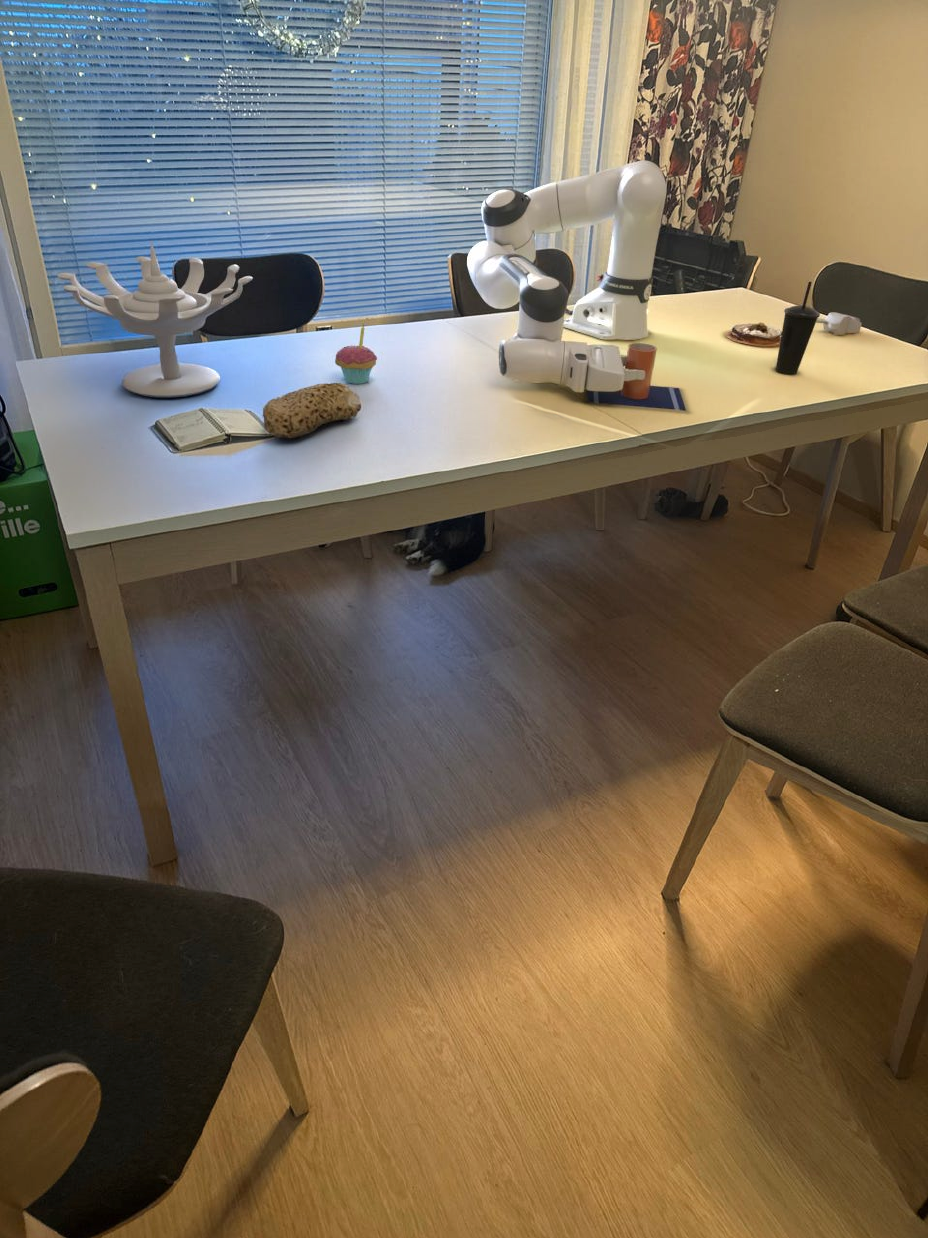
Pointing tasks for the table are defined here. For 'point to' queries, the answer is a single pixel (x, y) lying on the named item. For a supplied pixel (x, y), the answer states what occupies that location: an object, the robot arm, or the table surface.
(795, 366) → the drinking cup
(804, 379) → the table surface
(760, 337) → the round cake
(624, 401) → the cloth
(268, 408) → the sponge
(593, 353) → the robot arm
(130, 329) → the candelabra
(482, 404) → the table surface
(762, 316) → the table surface
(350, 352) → the cupcake
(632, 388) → the tumbler
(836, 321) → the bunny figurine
